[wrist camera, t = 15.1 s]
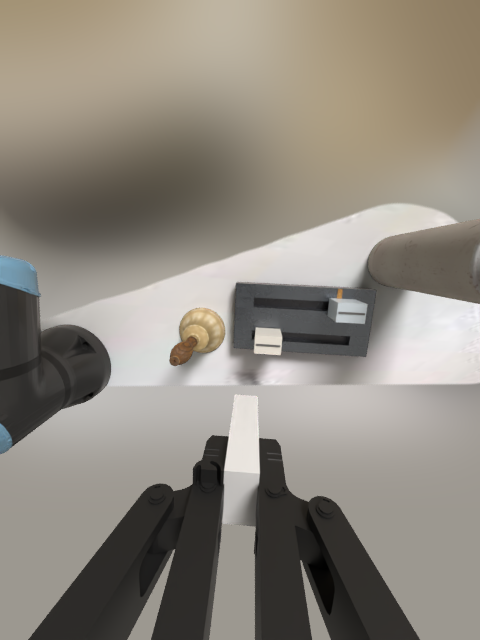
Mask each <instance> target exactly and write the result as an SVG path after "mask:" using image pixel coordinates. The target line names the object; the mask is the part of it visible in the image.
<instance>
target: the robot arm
mask: <svg viewBox="0 0 480 640" xmlns="http://www.w3.org/2000/svg"><path fill="white" fill-rule="evenodd" d="M39 297H41V294H40V293H39V291H38V281H37V272H36V270H35V268H34V267H33V266H32V265H31V264H30V263H29V262H27V261H25V260H22V259H17V258H12V257H7V256H1V255H0V454H2V453H5V452H6V451H8V450H9V449H10V448H11V447H12V446H14V445H15V444H16V443H18V442H19V441H20V440H21V439H23V438H24V437H25V436H27V435H28V434H29V433H31V432H32V431H33V430H35V429H36V428H37V427H38V426H40V425H41V424H42V423H44V422H45V421H46V420H48V419H49V418H50V417H52V416H53V415H54V414H56V413H57V412H58V411H60V410H61V409H64V408H67V407H71V406H74V405H77V404H81V403H84V402H86V401H88V400H90V399H92V398H93V397H94V396H96V395H97V394H98V393H99V392H101V391H102V390H103V389H104V388H105V386H106V385H107V383H108V381H109V378H110V373H111V363H110V358H109V355H108V352H107V350H106V348H105V347H104V345H103V344H102V342H101V341H100V340H99V339H98V338H97V337H96V336H95V335H94V334H92V333H91V332H89V331H88V330H86V329H84V328H81V327H79V326H75V325H59V326H56V327H53V328H49V329H47V330H44V331H43V332H41V331H40V307H39ZM258 428H259V427H258V396H247V395H235V398H234V405H233V411H232V419H231V426H230V433H229V437H227V436H214V435H212V436H211V437H210V438H209V439H208V440H207V443H206V446H205V450H204V455H203V458H202V460H201V461H199V462H198V463H196V464H195V466H194V468H193V484H192V485H191V486H189V487H187V488H185V489H182V490H177V491H173V490H172V488H171V487H170V486H168V485H166V484H156V485H153V486H150V487H149V488H147V489H146V490H145V491H144V492H143V493H142V494H141V496H140V497H139V498H138V500H137V501H136V502H135V504H134V505H133V506H132V507H131V509H130V510H129V511H128V512H127V514H126V515H125V517H124V518H123V519H122V520H121V521H120V523H119V524H118V525H117V527H116V528H115V529H114V530H113V532H112V533H111V534H110V536H109V537H108V538H107V539H106V541H105V542H104V543H103V545H102V546H101V547H100V548H99V550H98V551H97V552H96V554H95V555H94V556H93V557H92V559H91V560H90V561H89V563H88V564H87V565H86V566H85V568H84V569H83V570H82V571H81V573H80V574H79V575H78V577H77V578H76V579H75V581H74V582H73V583H72V584H71V586H70V587H69V588H68V590H67V591H66V592H65V593H64V595H63V596H62V597H61V599H60V600H59V601H58V602H57V604H56V605H55V606H54V607H53V609H52V610H51V611H50V612H49V614H48V615H47V616H46V618H45V619H44V620H43V621H42V623H41V624H40V625H39V627H38V628H37V629H36V630H35V632H34V633H33V634H32V636H31V637H30V638H29V639H28V640H127V639H128V637H129V635H130V633H131V631H132V629H133V627H134V625H135V623H136V621H137V620H138V617H139V616H140V614H141V611H142V610H143V608H144V606H145V604H146V602H147V600H148V598H149V596H150V594H151V592H152V590H153V589H154V587H155V584H156V583H157V581H158V579H159V577H160V575H161V573H162V571H163V569H164V567H165V565H166V563H167V561H168V559H169V558H170V556H171V554H172V551H173V549H175V553H174V557H173V561H172V564H171V568H170V571H169V576H168V579H167V583H166V586H165V590H164V594H163V597H162V601H161V605H160V609H159V612H158V616H157V620H156V623H155V627H154V631H153V634H152V638H151V640H209V635H210V627H211V618H212V609H213V601H214V592H215V584H216V574H217V567H218V557H219V549H220V541H221V526H222V523H224V524H235V525H247V526H256V532H255V545H254V546H255V547H254V554H255V640H312V636H311V630H310V623H309V617H308V610H307V603H306V597H305V590H304V585H303V577H302V570H301V564H300V560H302V562H303V566H304V569H305V571H306V574H307V577H308V579H309V582H310V585H311V587H312V590H313V593H314V595H315V598H316V601H317V603H318V606H319V609H320V612H321V614H322V617H323V620H324V622H325V625H326V627H327V630H328V633H329V635H330V638H331V640H420V639H419V637H418V636H417V634H416V632H415V631H414V629H413V628H412V626H411V624H410V623H409V621H408V620H407V618H406V616H405V614H404V613H403V611H402V609H401V608H400V606H399V604H398V603H397V601H396V599H395V598H394V596H393V595H392V593H391V591H390V590H389V588H388V586H387V585H386V583H385V581H384V580H383V578H382V576H381V575H380V573H379V572H378V570H377V568H376V567H375V565H374V563H373V562H372V560H371V558H370V557H369V555H368V553H367V552H366V550H365V548H364V547H363V545H362V543H361V542H360V540H359V539H358V537H357V535H356V534H355V532H354V530H353V529H352V527H351V525H350V524H349V522H348V520H347V519H346V517H345V515H344V514H343V512H342V511H341V509H340V507H339V506H338V505H337V504H336V503H335V502H334V501H332V500H331V499H329V498H326V497H323V496H317V497H314V498H312V499H311V500H310V501H309V502H307V501H304V500H302V499H300V498H298V497H296V496H294V495H293V494H292V493H291V492H290V491H289V489H288V488H287V486H286V482H285V474H284V467H283V461H282V455H281V447H280V445H279V443H278V442H277V441H276V440H274V439H262V438H259V431H258Z"/></svg>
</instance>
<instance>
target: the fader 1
mask: <svg viewBox="0 0 480 640" xmlns="http://www.w3.org/2000/svg"><path fill="white" fill-rule="evenodd" d="M281 347H282V334H281V330H280V329H274V328H258V327H256V330H255V344H254V353H255V354H269V355H281Z"/></svg>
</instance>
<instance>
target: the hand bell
mask: <svg viewBox="0 0 480 640" xmlns="http://www.w3.org/2000/svg"><path fill="white" fill-rule="evenodd" d="M179 330H180V336H181V339H182V341H183V342H180V343H178V344H177V345H176V346H175V347H174V348H173V349H172V351H171V354H170V360H169V361H170V364H171V365H173V366H177V365H181V364H184V363H186V362H187V361H188V360H189V359H190V357H191V356H192V353H193V351H196V352H199V353H207V352H211V351H213V350H215V349H217V348H218V347H219V346H220V345H221V343H222V342H223V340H224V336H225V326H224V323H223V321H222V319H221V318H220V316H219V315H218V314H216V313H215V312H214V311H212V310H210V309H206V308H196V309H193V310H191V311H189V312H188V313H186V314H185V316H184V317H183V318H182V320H181V323H180V329H179Z"/></svg>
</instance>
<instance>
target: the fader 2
mask: <svg viewBox="0 0 480 640" xmlns="http://www.w3.org/2000/svg"><path fill="white" fill-rule="evenodd" d="M367 305H368V304H366V303H363V302H361V301H358V300H356V299H338V298H329V306H328V316H329V317H330V318H331V319H332V320H334V321H335V322H340V323H357V324H365V319H366V312H367Z"/></svg>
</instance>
